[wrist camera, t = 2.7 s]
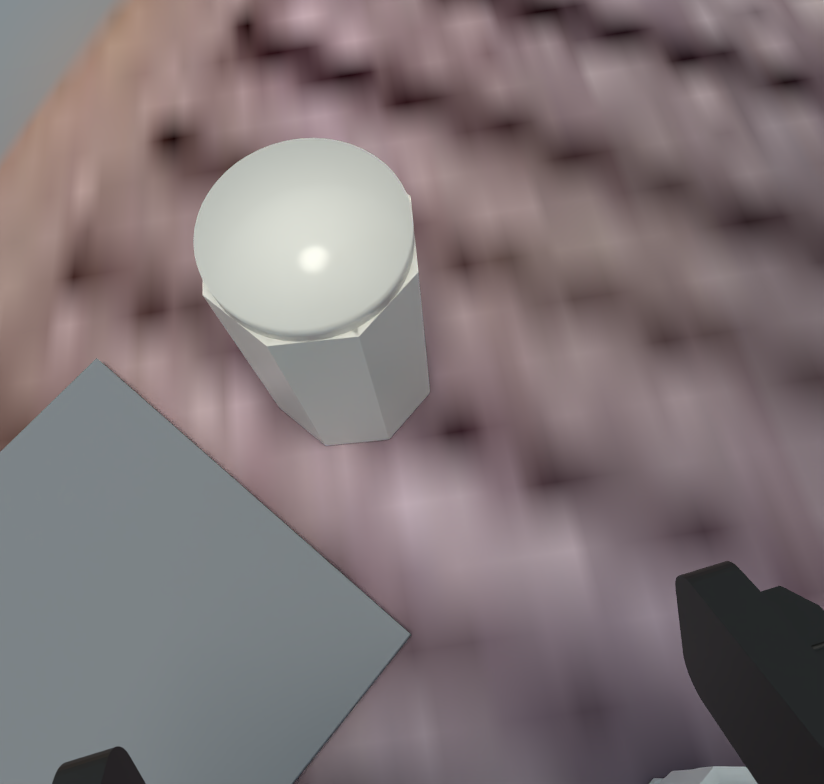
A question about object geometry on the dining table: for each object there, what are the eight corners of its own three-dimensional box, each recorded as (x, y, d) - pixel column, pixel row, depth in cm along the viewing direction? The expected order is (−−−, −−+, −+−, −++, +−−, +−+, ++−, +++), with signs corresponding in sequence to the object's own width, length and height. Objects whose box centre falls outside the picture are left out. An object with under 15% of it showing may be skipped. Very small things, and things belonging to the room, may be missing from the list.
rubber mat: (103, 364, 30) (96, 358, 29) (411, 634, 25) (410, 633, 25) (-236, 696, 26) (-252, 697, 25) (58, 1079, 22) (47, 1090, 21)
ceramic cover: (346, 278, 30) (297, 104, 21) (458, 360, 29) (458, 211, 19) (248, 381, 29) (148, 245, 20) (359, 473, 27) (308, 372, 18)
